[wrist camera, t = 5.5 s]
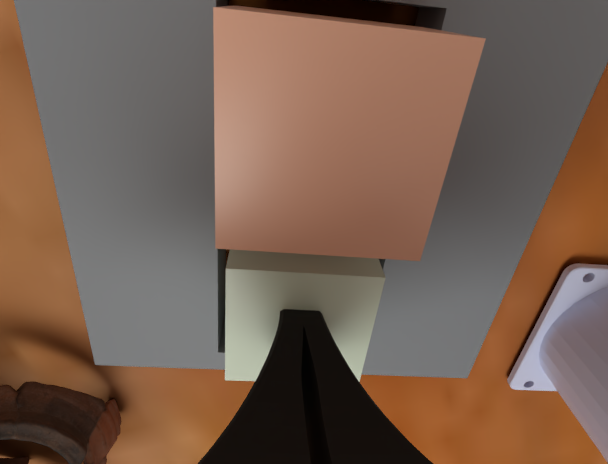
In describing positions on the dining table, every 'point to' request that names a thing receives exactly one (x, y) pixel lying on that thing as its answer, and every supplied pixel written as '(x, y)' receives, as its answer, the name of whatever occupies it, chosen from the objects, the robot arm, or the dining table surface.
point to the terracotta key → (333, 131)
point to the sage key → (297, 303)
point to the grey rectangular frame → (201, 173)
